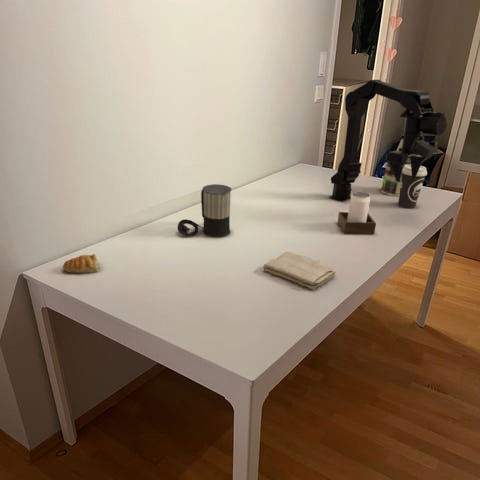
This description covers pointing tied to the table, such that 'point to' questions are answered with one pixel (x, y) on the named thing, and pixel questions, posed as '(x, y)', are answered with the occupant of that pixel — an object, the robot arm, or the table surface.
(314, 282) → the washcloth
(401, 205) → the coffee cup
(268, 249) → the table surface
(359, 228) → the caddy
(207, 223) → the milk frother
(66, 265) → the pastry
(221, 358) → the table surface
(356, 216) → the can
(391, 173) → the coffee can
